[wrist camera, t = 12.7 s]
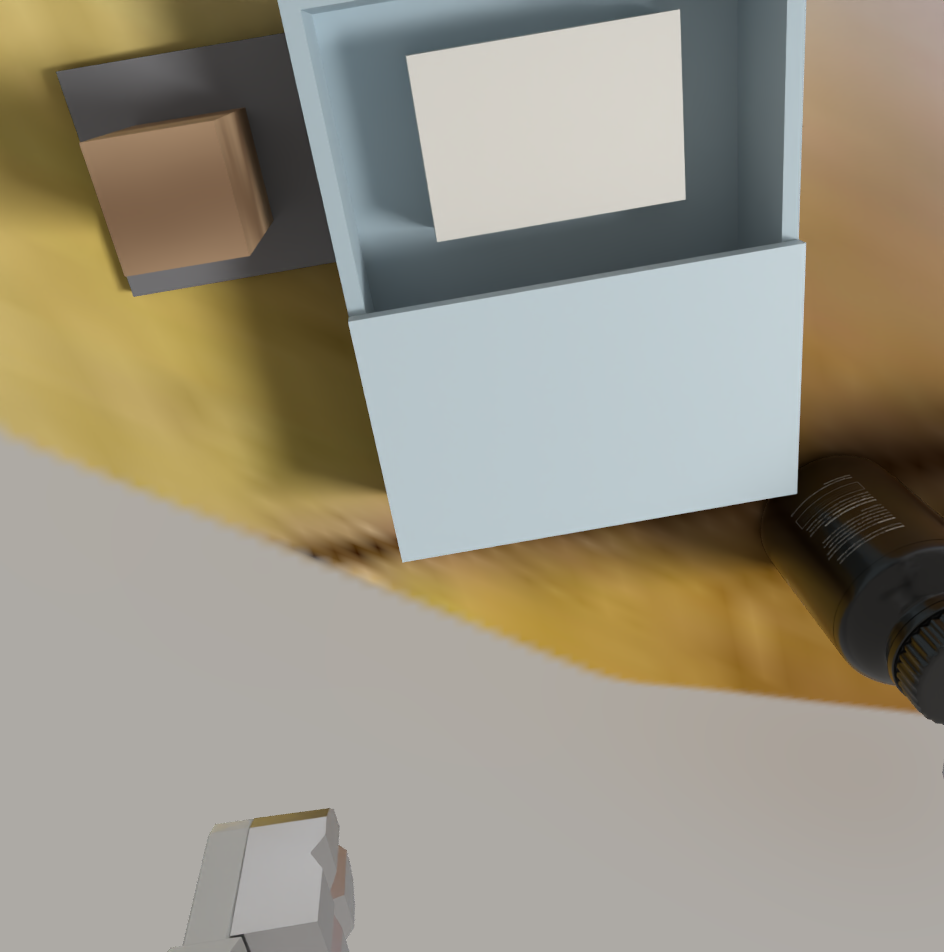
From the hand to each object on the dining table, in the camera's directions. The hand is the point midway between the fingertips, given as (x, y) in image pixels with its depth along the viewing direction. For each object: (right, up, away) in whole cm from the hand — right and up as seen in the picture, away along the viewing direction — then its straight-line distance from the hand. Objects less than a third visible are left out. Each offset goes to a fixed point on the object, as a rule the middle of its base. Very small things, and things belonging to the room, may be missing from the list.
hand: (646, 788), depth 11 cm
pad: (-12, +15, +20) cm, 28 cm away
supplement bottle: (+15, +2, +30) cm, 34 cm away
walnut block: (-12, +15, +20) cm, 28 cm away
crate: (+1, +13, +23) cm, 26 cm away
